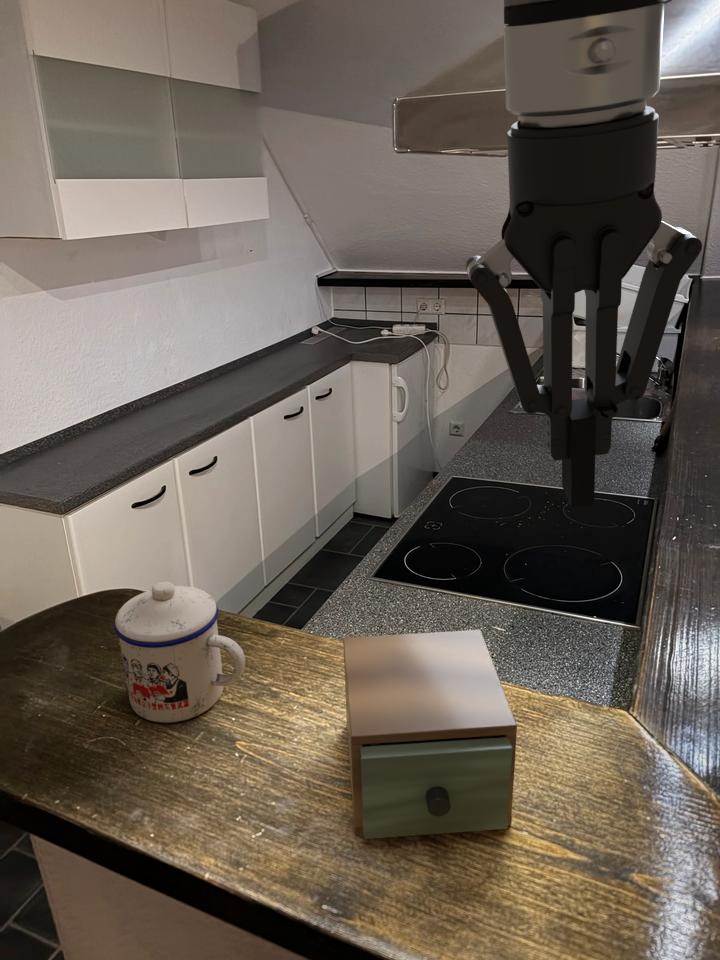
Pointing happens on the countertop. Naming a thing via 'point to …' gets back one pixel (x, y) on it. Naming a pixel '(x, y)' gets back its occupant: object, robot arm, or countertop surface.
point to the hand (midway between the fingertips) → (577, 494)
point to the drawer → (435, 786)
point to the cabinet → (421, 695)
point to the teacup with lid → (174, 652)
